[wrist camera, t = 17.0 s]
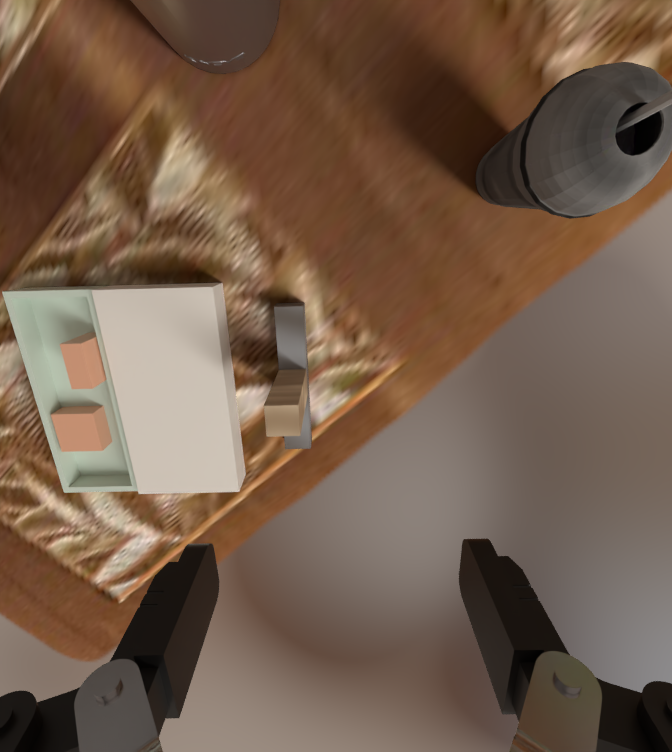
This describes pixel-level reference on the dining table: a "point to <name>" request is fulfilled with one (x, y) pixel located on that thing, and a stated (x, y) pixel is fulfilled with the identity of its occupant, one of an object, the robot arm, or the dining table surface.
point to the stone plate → (174, 385)
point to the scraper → (290, 380)
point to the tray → (52, 386)
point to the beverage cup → (584, 143)
